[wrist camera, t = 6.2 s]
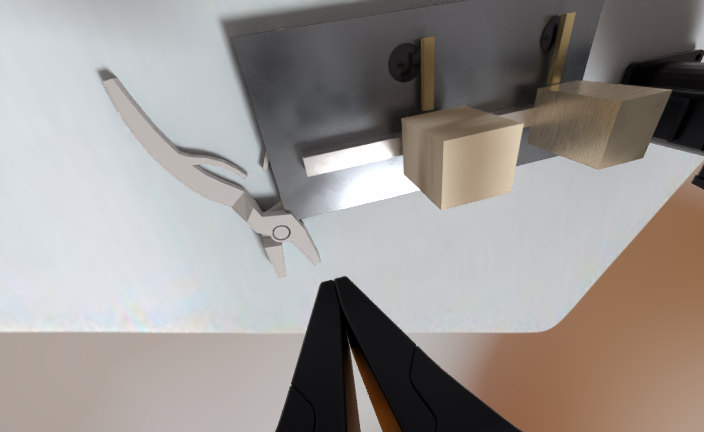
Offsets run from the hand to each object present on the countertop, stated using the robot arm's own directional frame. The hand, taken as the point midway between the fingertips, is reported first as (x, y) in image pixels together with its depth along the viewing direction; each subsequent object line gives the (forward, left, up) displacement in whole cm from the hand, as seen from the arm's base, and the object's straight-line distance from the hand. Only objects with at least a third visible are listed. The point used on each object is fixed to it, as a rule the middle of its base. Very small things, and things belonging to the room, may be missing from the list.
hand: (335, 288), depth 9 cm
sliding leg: (-8, -2, -10) cm, 13 cm away
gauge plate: (-9, -2, -12) cm, 15 cm away
